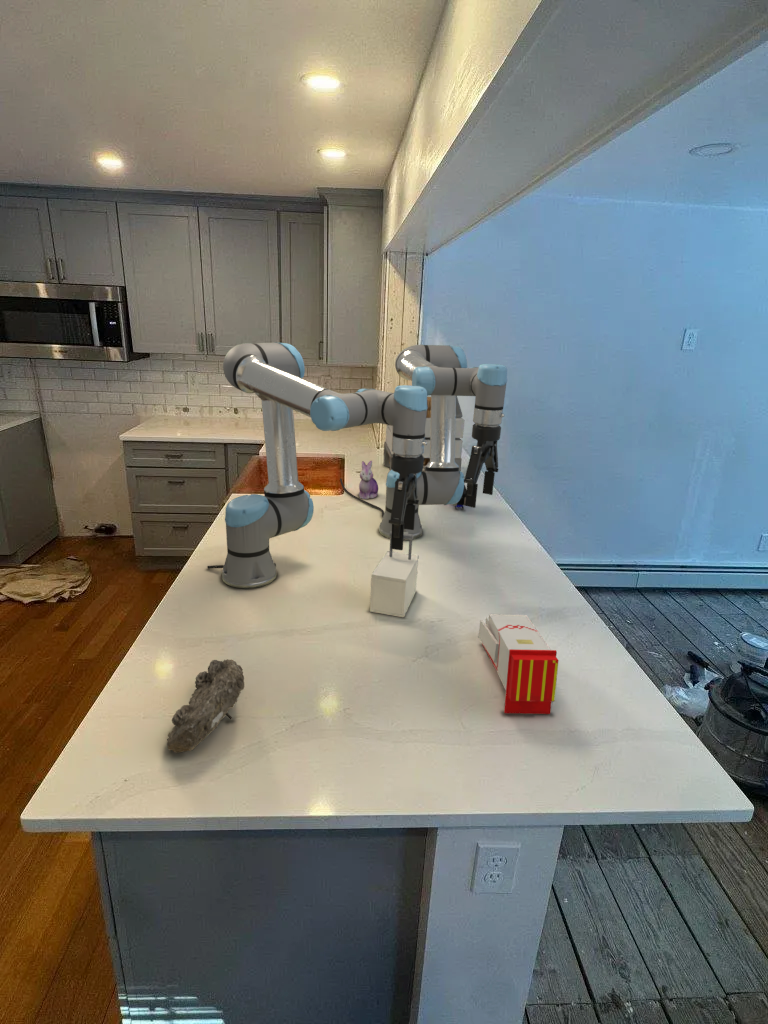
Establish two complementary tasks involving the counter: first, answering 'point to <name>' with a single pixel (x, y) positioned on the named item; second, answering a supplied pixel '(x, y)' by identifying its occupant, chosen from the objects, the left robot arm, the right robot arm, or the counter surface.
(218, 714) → the fossil
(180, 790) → the counter surface
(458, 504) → the figurine character
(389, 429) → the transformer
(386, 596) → the chest
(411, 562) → the lid
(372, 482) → the figurine
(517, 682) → the toy
